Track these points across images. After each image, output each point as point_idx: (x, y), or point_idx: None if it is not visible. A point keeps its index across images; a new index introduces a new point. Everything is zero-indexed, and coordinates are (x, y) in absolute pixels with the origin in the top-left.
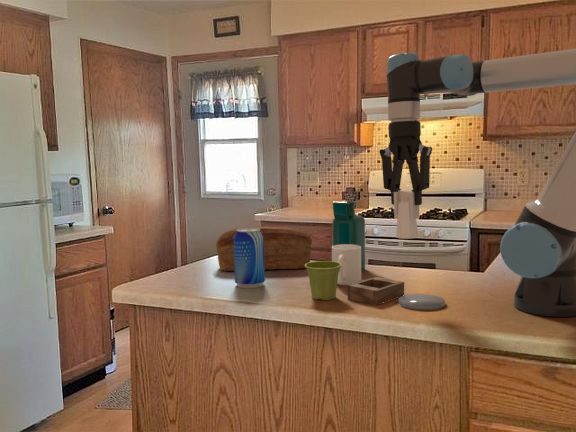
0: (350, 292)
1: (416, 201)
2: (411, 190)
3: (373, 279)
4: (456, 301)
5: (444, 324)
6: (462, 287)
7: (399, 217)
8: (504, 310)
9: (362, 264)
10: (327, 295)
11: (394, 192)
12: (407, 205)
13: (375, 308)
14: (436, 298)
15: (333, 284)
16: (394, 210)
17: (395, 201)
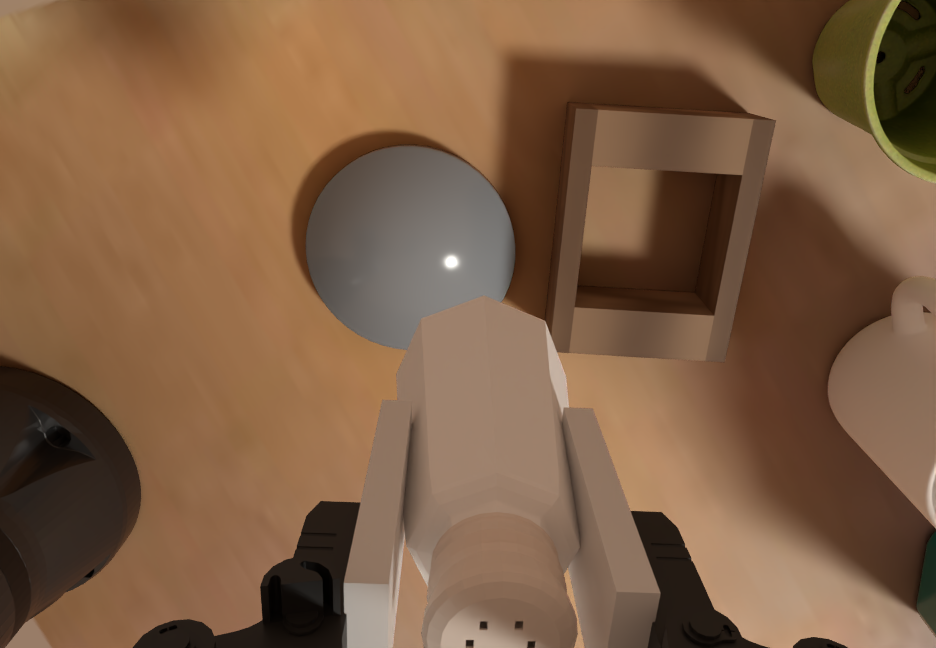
0: (742, 115)
1: (335, 529)
2: (338, 574)
3: (710, 315)
4: (317, 368)
5: (171, 23)
6: (405, 561)
7: (523, 392)
8: (112, 358)
9: (933, 605)
10: (840, 14)
11: (643, 587)
12: (439, 475)
13: (545, 49)
14: (370, 312)
15: (842, 46)
16: (604, 451)
17: (607, 509)
